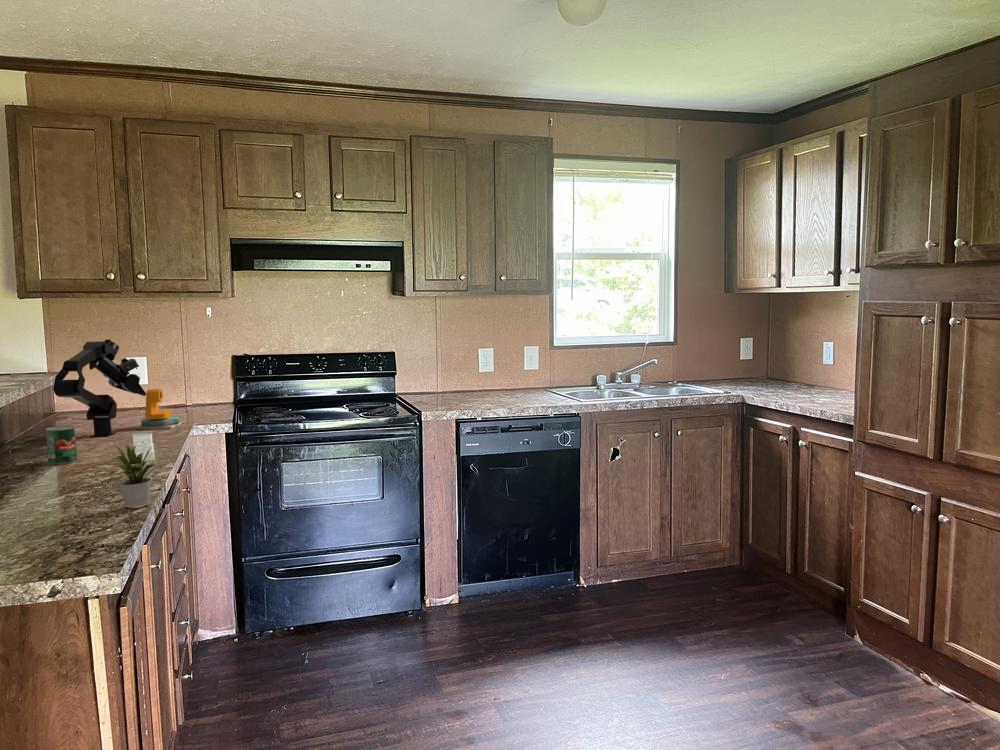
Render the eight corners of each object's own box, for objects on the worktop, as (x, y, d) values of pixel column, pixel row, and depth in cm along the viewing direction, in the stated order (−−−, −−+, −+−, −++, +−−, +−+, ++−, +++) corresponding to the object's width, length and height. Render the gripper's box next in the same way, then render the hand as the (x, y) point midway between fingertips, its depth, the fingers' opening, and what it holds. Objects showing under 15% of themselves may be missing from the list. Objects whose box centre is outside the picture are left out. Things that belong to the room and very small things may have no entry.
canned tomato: (58, 459, 240) (55, 425, 239) (82, 459, 240) (80, 425, 239) (42, 465, 232) (39, 430, 231) (67, 464, 232) (64, 429, 231)
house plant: (85, 511, 181) (80, 444, 179) (132, 496, 194) (127, 434, 192) (130, 516, 176) (125, 448, 174) (175, 500, 189) (171, 437, 187)
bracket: (165, 420, 293) (163, 390, 291) (145, 421, 292) (143, 390, 291) (173, 416, 303) (171, 386, 302) (154, 417, 302) (152, 387, 301)
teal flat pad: (170, 429, 291) (170, 421, 291) (134, 429, 291) (134, 422, 291) (185, 422, 305) (185, 415, 304) (151, 423, 305) (150, 416, 304)
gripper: (132, 353, 280) (164, 379, 289) (114, 351, 293) (146, 376, 302) (111, 376, 276) (144, 402, 285) (94, 373, 289) (127, 398, 298)
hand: (141, 394), depth 292 cm, fingers open, 9 cm apart
